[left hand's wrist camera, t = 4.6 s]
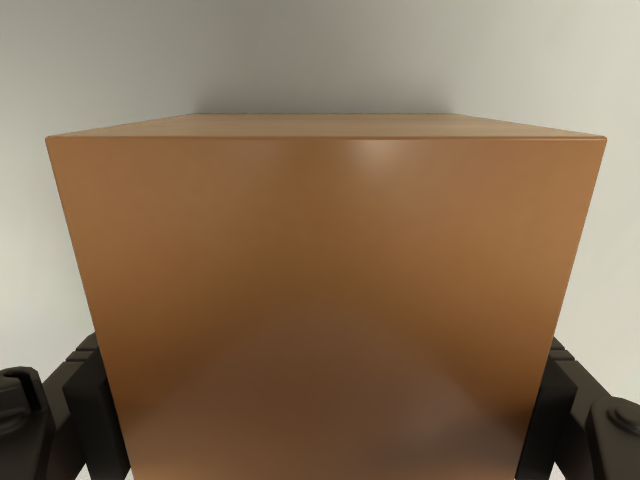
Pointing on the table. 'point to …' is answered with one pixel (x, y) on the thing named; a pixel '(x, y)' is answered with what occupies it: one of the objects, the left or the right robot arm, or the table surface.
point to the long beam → (325, 287)
